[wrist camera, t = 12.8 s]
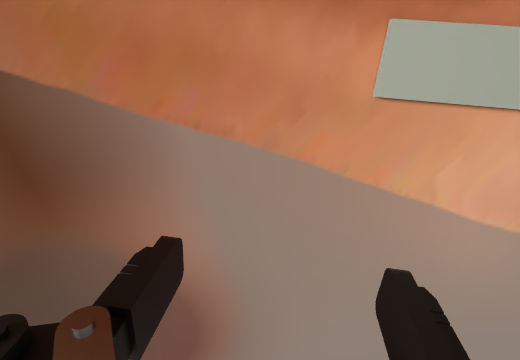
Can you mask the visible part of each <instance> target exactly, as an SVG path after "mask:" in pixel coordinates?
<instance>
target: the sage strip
mask: <svg viewBox="0 0 520 360" xmlns="http://www.w3.org/2000/svg"><path fill="white" fill-rule="evenodd" d="M373 96H374V97H383V98H394V99H405V100H417V101H428V102H439V103H451V104H462V105H473V106H485V107H496V108H507V109H519V110H520V27H516V26H500V25H484V24H468V23H453V22H437V21H421V20H405V19H390V20H389V24H388V29H387V33H386V38H385V42H384V47H383V51H382V56H381V60H380V65H379V69H378V73H377V78H376V82H375V87H374V91H373Z"/></svg>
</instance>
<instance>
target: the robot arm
mask: <svg viewBox="0 0 520 360" xmlns="http://www.w3.org/2000/svg"><path fill="white" fill-rule="evenodd" d="M183 271H184V265H183V245H182V239H181V238H175V237H168V236H161V237H160V238H159V240H158V241H157V243H156V244H155V245H154V246H153V247H145V248H144V249H142V250H141V251H139V252H138V253H136V254H135V255H134V256H133V257H132V258H131V259H130V261H129V262H128V263H127V265H126V266H125V267H124V268H123V269H122V270H121V271H120V274H118V275H117V276H116V277H115V279H114V280H113V281H112V282H111V283H110V285H109V286H108V287H107V288H106V289H105V291H104V292H103V293H102V294H101V296H100V297H99V298H98V299H97V300H96V301H95V303H94V304H93V305H92V306H88V307H84V308H81V309H78V310H76V311H74V312H73V313H71V314H69V315H68V316H67V317H66V318H64V319H63V320H62V321H61V322H60V323H53V324H46V325H38V326H30V327H29V325H28V322H27V320H26V318H25V317H24V316H22V315H19V314H8V315H3V316H0V360H128V359H129V360H140V359H141V357H142V355H143V353H144V351H145V349H146V348H147V345H148V344H149V342H150V340H151V338H152V336H153V334H154V332H155V330H156V329H157V327H158V325H159V323H160V321H161V319H162V317H163V315H164V313H165V311H166V310H167V308H168V306H169V304H170V302H171V300H172V298H173V296H174V295H175V292H176V291H177V289H178V287H179V285H180V283H181V280H182V277H183ZM376 315H377V319H378V322H379V326H380V329H381V332H382V336H383V339H384V343H385V346H386V349H387V353H388V356H389V360H470V359H469V357H468V355H467V353H466V351H465V350H464V348H463V346H462V344H461V342H460V341H459V339H458V337H457V335H456V333H455V332H454V330H453V328H452V327H451V326H450V323H449V321H448V319H447V317H446V316H445V315H444V312H443V310H442V308H441V307H440V305H439V303H438V301H437V299H436V298H434V296H432V294H430V293H429V292H428V291H427V290H426V289H425V288H424V287H418V286H417V284H416V282H415V280H414V278H413V276H412V274H411V273H410V272H409V271H405V270H399V269H391V268H387V269H386V270H385V273H384V276H383V279H382V282H381V285H380V288H379V291H378V294H377V298H376Z"/></svg>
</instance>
